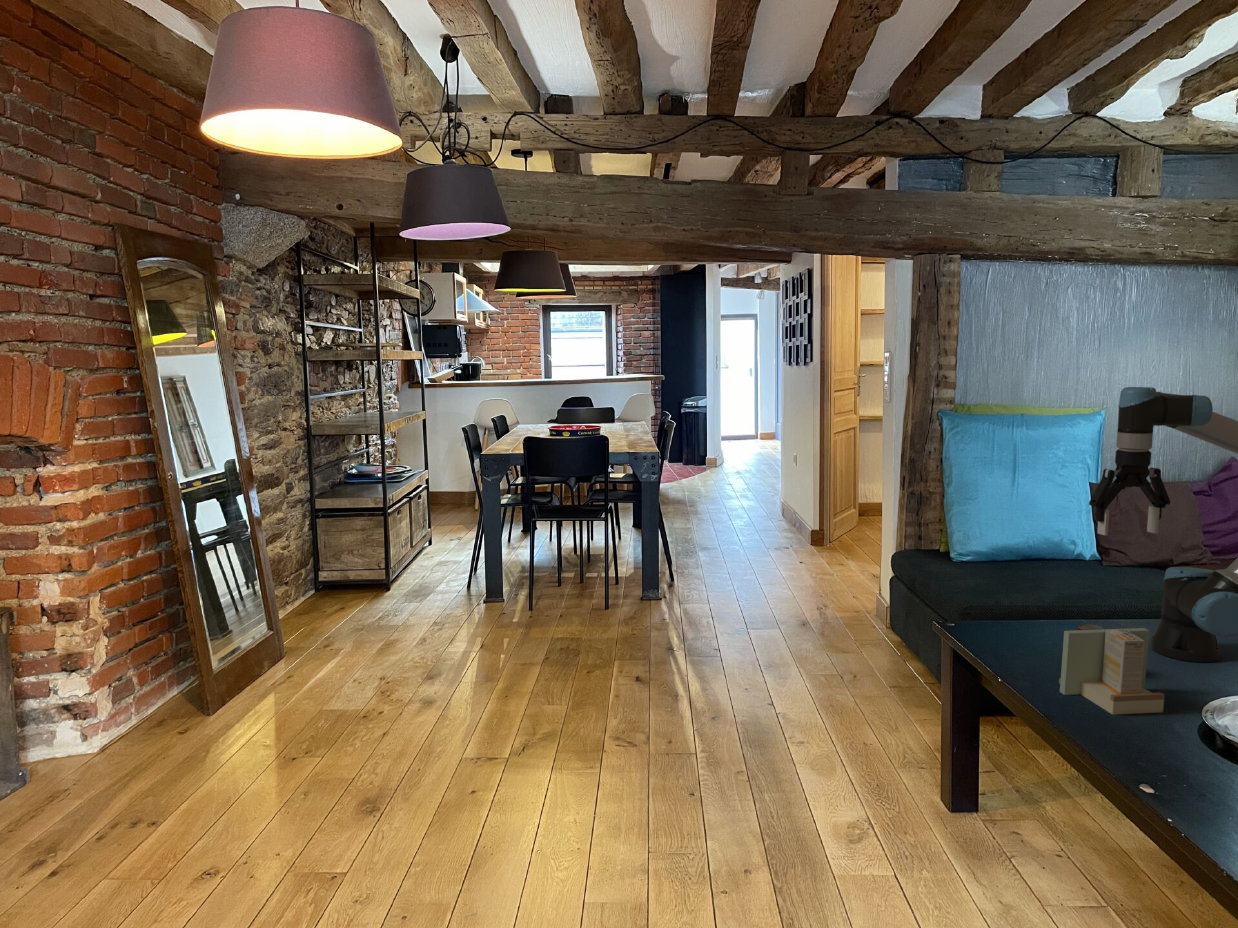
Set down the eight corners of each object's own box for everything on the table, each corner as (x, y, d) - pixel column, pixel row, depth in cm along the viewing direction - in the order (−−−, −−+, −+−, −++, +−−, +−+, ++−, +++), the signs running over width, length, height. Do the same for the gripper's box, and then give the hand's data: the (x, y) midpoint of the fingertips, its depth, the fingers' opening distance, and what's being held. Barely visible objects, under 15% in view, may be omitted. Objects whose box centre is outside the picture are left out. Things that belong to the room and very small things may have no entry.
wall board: (1124, 680, 202) (1129, 621, 200) (1179, 711, 185) (1185, 647, 183) (1046, 683, 201) (1051, 623, 199) (1095, 715, 183) (1100, 650, 181)
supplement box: (1141, 697, 185) (1146, 641, 184) (1119, 696, 186) (1124, 640, 184) (1121, 682, 194) (1126, 628, 192) (1100, 682, 194) (1104, 628, 192)
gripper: (1168, 446, 210) (1161, 528, 213) (1076, 449, 207) (1071, 531, 210) (1191, 450, 203) (1184, 534, 205) (1097, 452, 200) (1091, 538, 203)
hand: (1127, 533), depth 208 cm, fingers open, 13 cm apart
